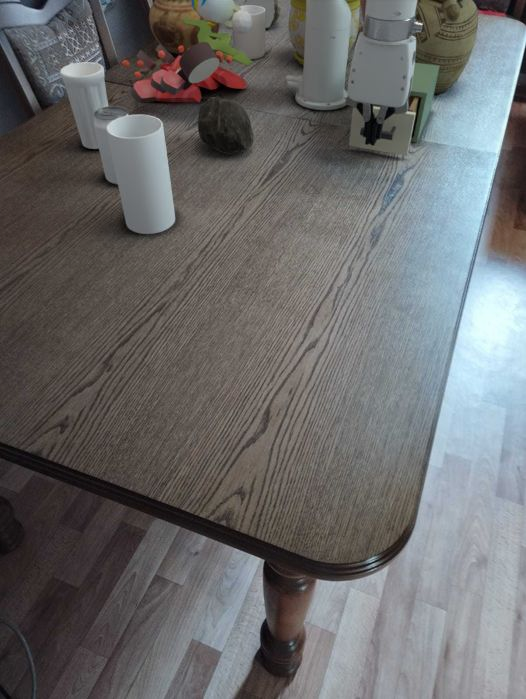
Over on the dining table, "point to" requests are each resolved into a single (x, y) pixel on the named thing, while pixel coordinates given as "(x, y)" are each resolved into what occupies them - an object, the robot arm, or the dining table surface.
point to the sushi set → (196, 58)
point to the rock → (225, 126)
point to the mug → (252, 34)
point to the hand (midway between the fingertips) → (371, 141)
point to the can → (100, 124)
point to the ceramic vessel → (446, 37)
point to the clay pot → (175, 24)
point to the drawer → (388, 129)
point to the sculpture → (267, 10)
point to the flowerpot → (299, 25)
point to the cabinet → (423, 93)
